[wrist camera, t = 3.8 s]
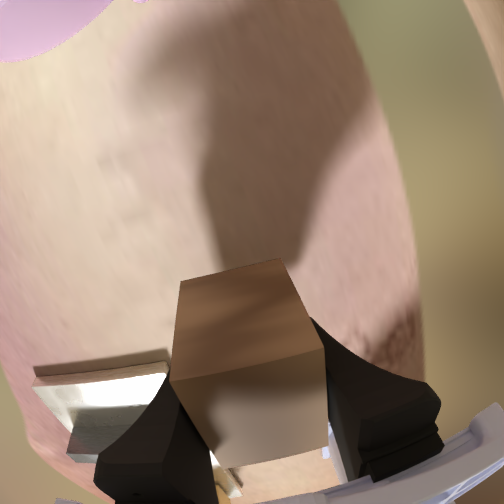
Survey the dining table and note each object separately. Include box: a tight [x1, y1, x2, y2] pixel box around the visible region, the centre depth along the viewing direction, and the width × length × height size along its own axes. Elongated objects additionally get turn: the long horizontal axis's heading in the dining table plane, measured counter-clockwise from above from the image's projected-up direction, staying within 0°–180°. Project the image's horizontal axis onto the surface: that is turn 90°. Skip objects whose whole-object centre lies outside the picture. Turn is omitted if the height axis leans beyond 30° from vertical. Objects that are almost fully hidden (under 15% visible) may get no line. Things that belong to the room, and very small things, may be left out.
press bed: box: [31, 361, 243, 498], centre depth 23 cm, size 12×24×4 cm, turn 11°
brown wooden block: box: [169, 258, 329, 469], centre depth 12 cm, size 4×6×6 cm
